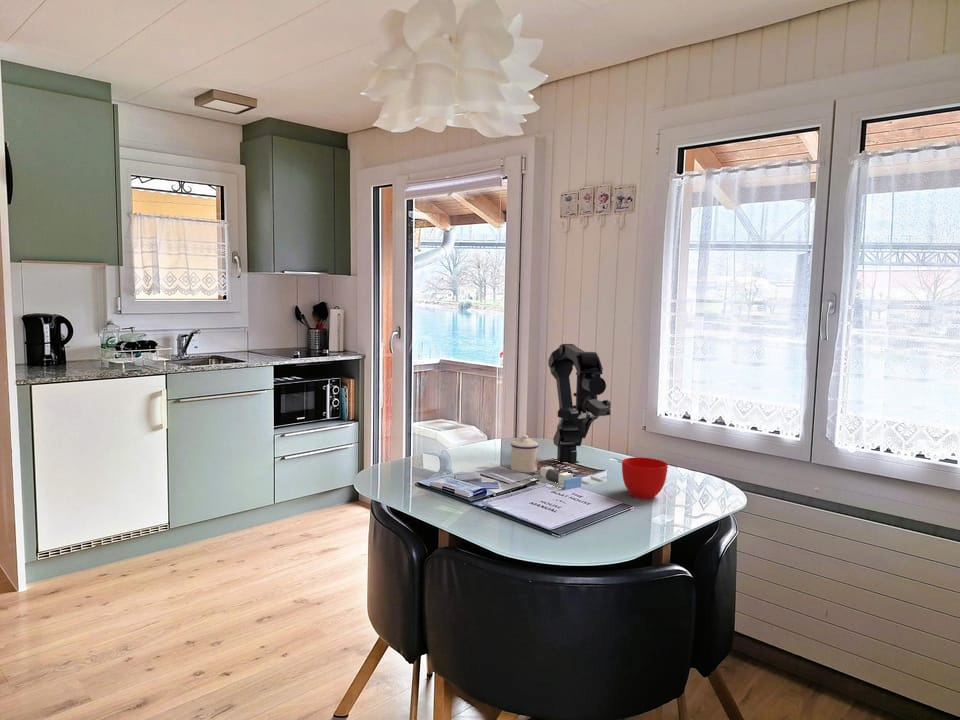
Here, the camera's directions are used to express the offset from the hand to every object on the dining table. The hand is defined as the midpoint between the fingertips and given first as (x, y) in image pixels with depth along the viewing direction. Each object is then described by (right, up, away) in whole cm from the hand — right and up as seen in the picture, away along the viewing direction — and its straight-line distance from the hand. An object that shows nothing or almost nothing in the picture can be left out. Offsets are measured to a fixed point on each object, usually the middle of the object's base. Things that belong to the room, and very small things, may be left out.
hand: (583, 438), depth 221 cm
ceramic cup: (+15, -15, -20) cm, 29 cm away
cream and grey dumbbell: (-10, -12, -11) cm, 19 cm away
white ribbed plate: (-6, -13, -8) cm, 16 cm away
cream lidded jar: (-20, -11, +6) cm, 23 cm away
